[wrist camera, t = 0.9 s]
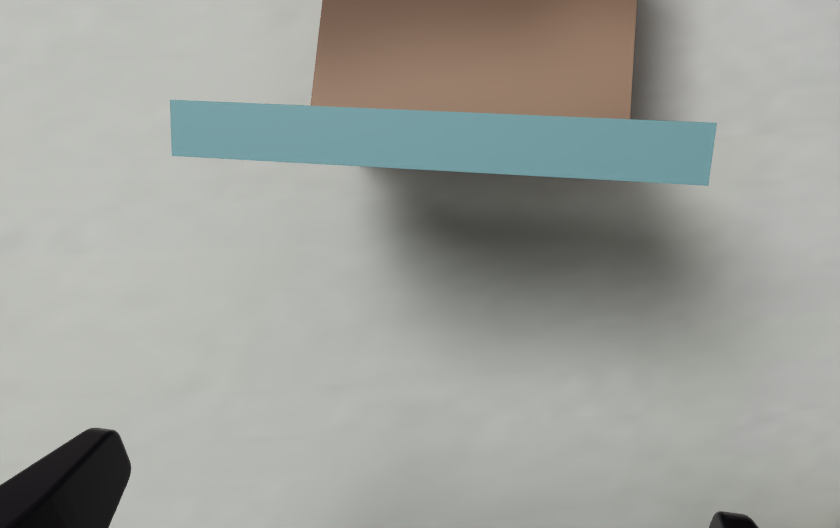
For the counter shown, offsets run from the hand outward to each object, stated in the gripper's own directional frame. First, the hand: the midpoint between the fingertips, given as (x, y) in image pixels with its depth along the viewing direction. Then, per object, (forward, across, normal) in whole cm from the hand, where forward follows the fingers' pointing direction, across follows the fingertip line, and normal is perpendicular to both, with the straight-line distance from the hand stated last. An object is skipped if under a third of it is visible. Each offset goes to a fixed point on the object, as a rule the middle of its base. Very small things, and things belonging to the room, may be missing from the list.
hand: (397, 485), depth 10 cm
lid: (+8, 0, -3) cm, 8 cm away
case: (+17, 0, -1) cm, 17 cm away
